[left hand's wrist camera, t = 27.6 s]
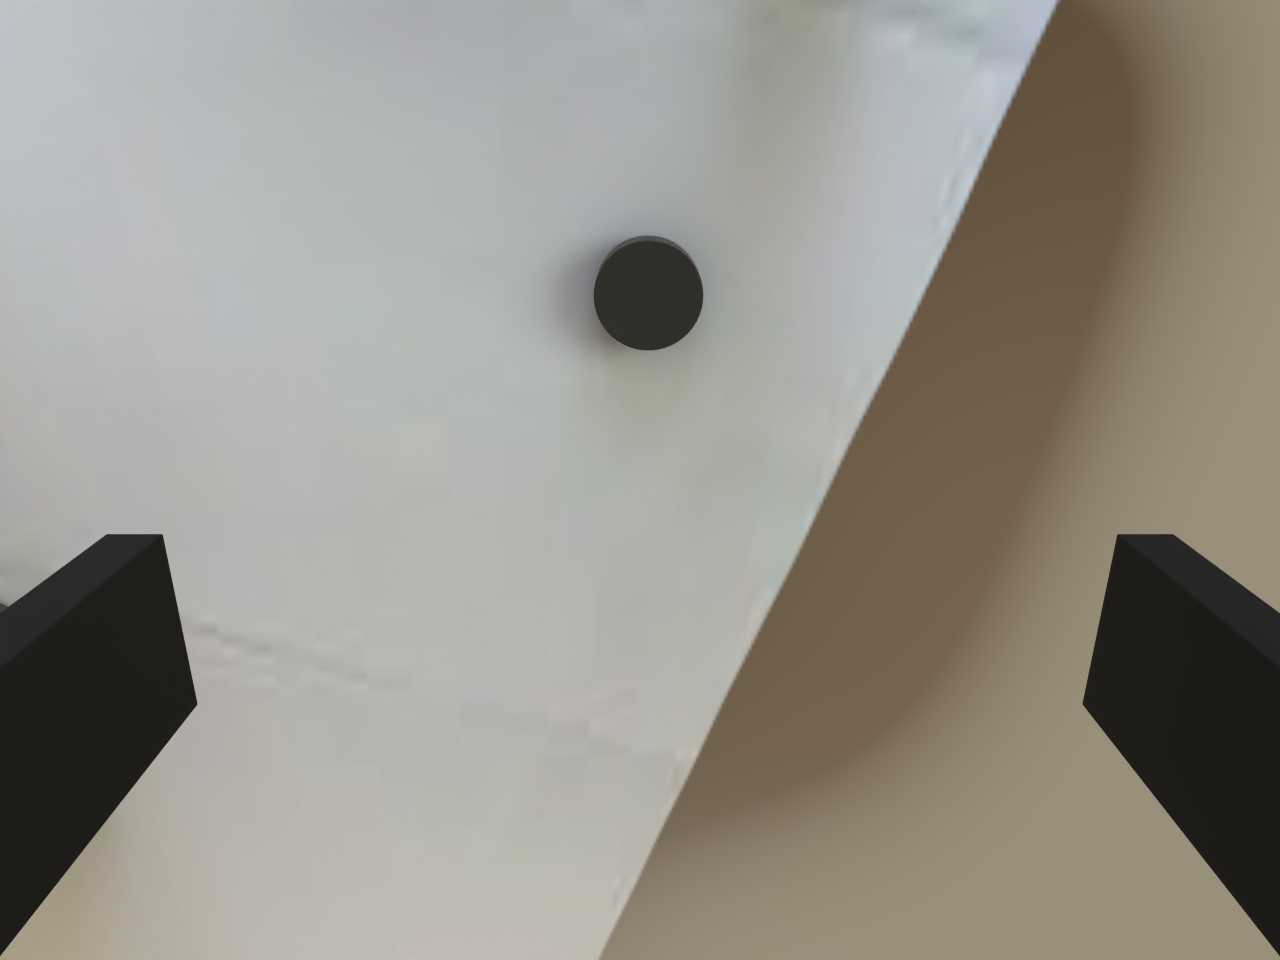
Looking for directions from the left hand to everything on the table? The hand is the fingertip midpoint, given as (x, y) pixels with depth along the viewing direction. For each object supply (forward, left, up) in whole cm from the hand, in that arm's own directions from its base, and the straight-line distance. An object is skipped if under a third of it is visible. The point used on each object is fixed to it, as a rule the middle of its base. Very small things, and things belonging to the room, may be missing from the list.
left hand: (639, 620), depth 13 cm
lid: (0, 0, -28) cm, 28 cm away
